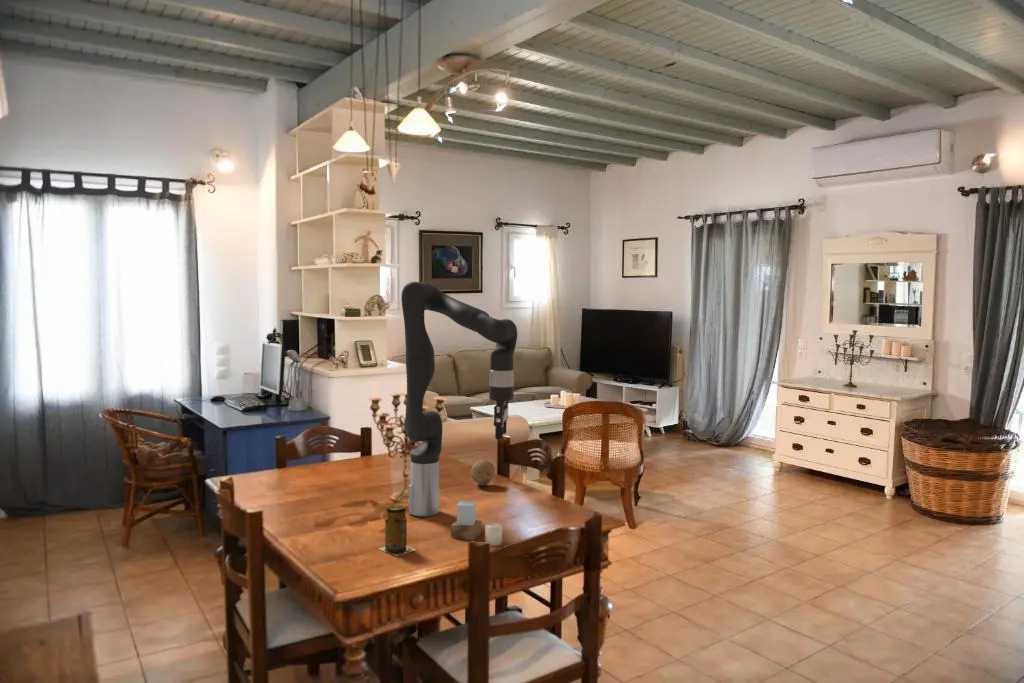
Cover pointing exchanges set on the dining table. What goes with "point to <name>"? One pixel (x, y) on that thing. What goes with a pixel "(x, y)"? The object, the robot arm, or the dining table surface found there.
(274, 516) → the dining table surface
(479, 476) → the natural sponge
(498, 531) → the cream cylinder
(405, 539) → the condiment
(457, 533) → the walnut block
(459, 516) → the pale grey block
